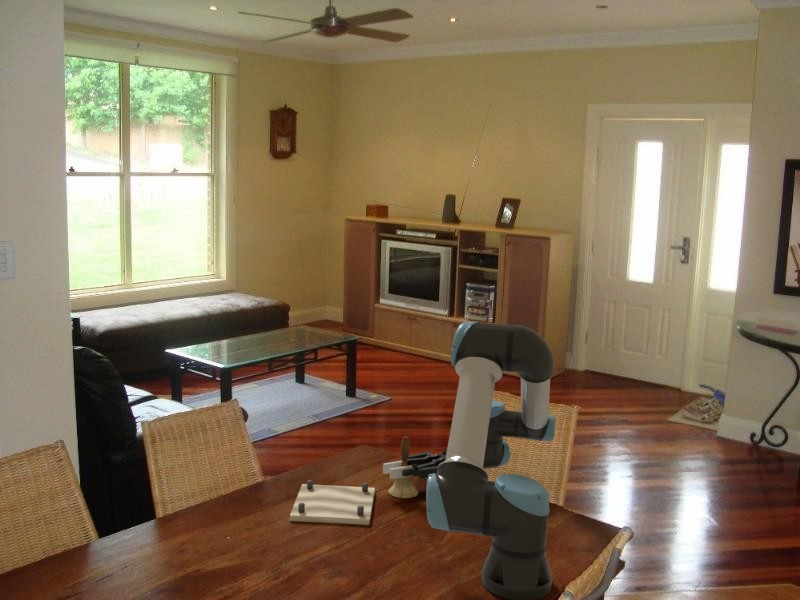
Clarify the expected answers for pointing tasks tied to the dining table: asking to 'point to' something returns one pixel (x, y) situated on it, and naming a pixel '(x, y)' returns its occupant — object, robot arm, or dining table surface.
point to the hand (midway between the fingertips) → (387, 471)
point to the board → (333, 504)
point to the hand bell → (404, 484)
